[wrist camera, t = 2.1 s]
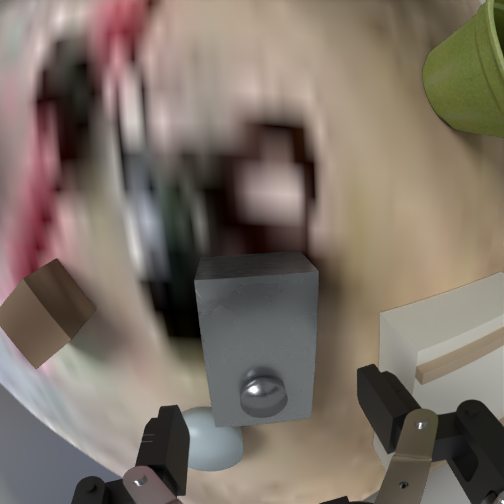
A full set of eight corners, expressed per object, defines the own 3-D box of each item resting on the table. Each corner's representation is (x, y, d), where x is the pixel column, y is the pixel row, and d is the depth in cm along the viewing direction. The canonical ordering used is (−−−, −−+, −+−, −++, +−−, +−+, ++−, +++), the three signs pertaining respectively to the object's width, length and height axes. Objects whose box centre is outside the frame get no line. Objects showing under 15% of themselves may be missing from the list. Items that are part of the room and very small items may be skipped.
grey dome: (164, 410, 20) (159, 432, 18) (232, 400, 20) (233, 423, 18) (187, 452, 21) (185, 473, 19) (248, 443, 21) (250, 466, 19)
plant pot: (427, 171, 17) (533, 183, 9) (375, 31, 15) (457, -30, 6) (508, 142, 17) (594, 146, 9) (468, 27, 14) (546, -4, 6)
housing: (200, 256, 18) (192, 286, 13) (298, 249, 18) (323, 277, 13) (215, 386, 20) (215, 437, 15) (297, 378, 20) (314, 427, 16)
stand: (379, 312, 19) (425, 359, 14) (500, 271, 20) (549, 296, 14) (372, 445, 23) (396, 491, 17) (475, 399, 23) (505, 432, 18)
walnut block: (25, 291, 17) (-8, 316, 13) (57, 257, 17) (23, 279, 13) (62, 337, 18) (36, 369, 14) (96, 308, 18) (71, 339, 14)
